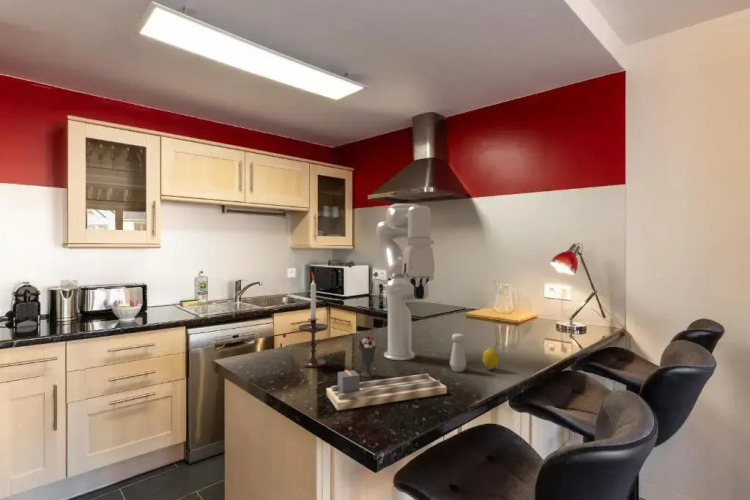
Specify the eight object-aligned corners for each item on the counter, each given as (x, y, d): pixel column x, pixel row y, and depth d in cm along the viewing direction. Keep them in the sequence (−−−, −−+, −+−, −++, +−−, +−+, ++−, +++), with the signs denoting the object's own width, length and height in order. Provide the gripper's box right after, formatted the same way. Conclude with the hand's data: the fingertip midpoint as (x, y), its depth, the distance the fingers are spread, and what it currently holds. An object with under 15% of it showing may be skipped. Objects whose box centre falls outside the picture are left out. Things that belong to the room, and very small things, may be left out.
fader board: (337, 410, 103) (337, 398, 103) (326, 394, 114) (326, 384, 115) (446, 393, 116) (446, 382, 116) (427, 380, 127) (427, 371, 127)
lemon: (499, 372, 135) (499, 350, 135) (482, 371, 136) (483, 349, 137) (497, 368, 141) (497, 346, 141) (481, 367, 142) (481, 345, 142)
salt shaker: (448, 367, 141) (448, 332, 141) (463, 367, 142) (463, 332, 142) (452, 373, 135) (452, 336, 135) (468, 372, 136) (468, 335, 136)
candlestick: (293, 363, 146) (293, 271, 146) (317, 358, 153) (317, 270, 153) (308, 370, 138) (308, 272, 138) (333, 364, 145) (333, 271, 145)
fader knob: (342, 395, 108) (342, 376, 108) (337, 389, 112) (337, 371, 112) (359, 393, 109) (359, 374, 109) (354, 387, 114) (354, 369, 114)
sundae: (380, 372, 135) (380, 330, 135) (373, 378, 129) (373, 334, 129) (362, 370, 137) (362, 328, 137) (355, 376, 131) (355, 332, 131)
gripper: (432, 243, 134) (432, 296, 134) (393, 243, 129) (393, 298, 129) (444, 243, 127) (444, 298, 127) (403, 242, 122) (403, 300, 122)
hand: (418, 298), depth 128 cm, fingers closed
